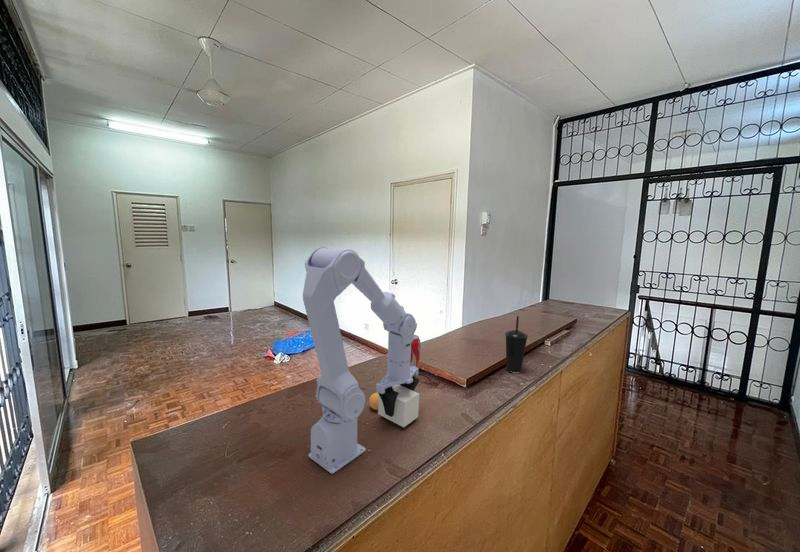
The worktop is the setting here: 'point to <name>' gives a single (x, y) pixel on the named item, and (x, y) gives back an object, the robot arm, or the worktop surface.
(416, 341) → the beverage can
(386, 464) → the worktop surface
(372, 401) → the ball
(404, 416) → the white plastic cube
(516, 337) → the drinking cup
